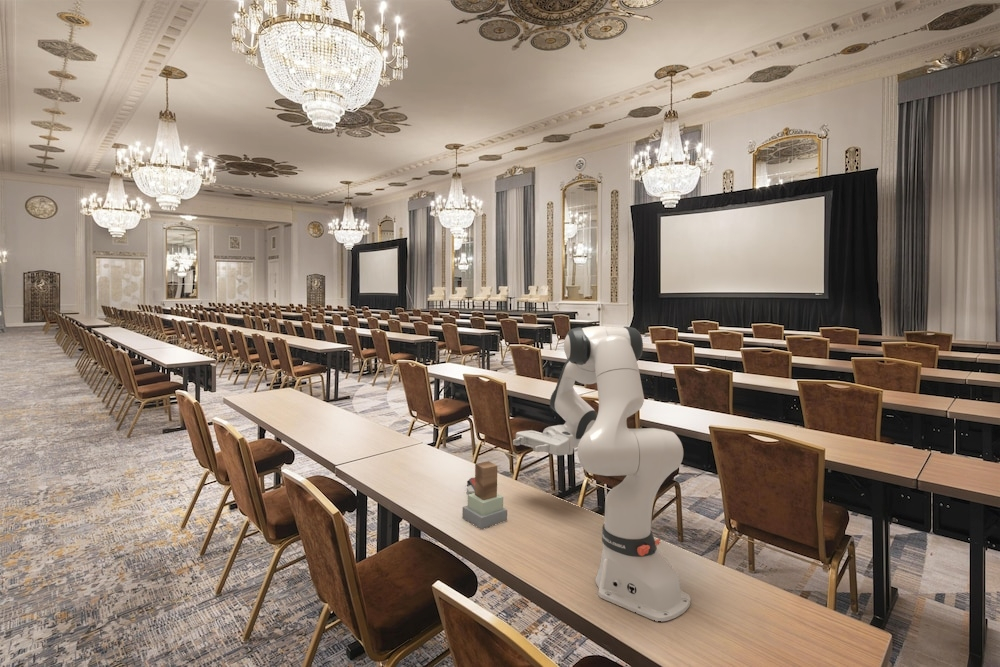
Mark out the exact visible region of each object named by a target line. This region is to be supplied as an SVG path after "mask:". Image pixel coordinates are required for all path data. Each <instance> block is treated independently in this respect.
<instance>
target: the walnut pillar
mask: <svg viewBox="0 0 1000 667" xmlns="http://www.w3.org/2000/svg"><path fill="white" fill-rule="evenodd" d="M474 465H475V466H474V478H475V495H476V496H477V497H479V498H480V499H482V500H487V499H491V498H495V497H497V494H498V465H497V464H495V463H493V462H491V461H489V460H488V461H483V462H479V463H475V464H474Z"/></svg>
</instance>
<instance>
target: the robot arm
mask: <svg viewBox="0 0 1000 667" xmlns="http://www.w3.org/2000/svg"><path fill="white" fill-rule="evenodd" d="M563 341H564V342H563V349H564V354H565V356H566V359H567V360H566V361H565V363H564V365H563V366H562V369H561V371H560V373H559V377H558V380H557V383H556V386H555V389H554V390H553V392H552V393H551V395H550V399H549V406H550V408H551V409H552V410H553V411H554V412H555V413H556V414H558V415H559V416H560V417H561V418H562V419H563V420H564V421H565V422H564V424H557V425H552V426H548V427H546V428H544V429H543V431H542V432H539V431H536V430H533V429H531V430H521V431H517V432H516V433H515V439H513V440H512V445H513V446H520V445H522V446H525V447H529V448H532V452H535V453H539V452H540V453H541V452H542V453H547V454H551V455H554V456H565V455H573V454H574V449H575V448H577V449H576V450H577V459H578V461H579V464H580V465H581V467H582V469H583V470H584V471H585V472H586V473H588V474H593V475H598V476H605V477H612V476H613V477H615V476H625V477H624V479H623V480H622V481H621V482H620V483H619V484H617V485H615V486H614V487H613V488H611V489H610V490H609V491H608V493H607V495H606V497H605V501H604V523H603V524H602V530H601V531H602V533H601V541H602V549H601V550H602V552H601V559H600V563H599V567H598V571H597V574H596V576H595V584H596V586H597V588H598V592H597V593H598V594H597V595H598V597H599V598H600V599H603V600H605V601H607V602H609V603H612V604H614V605H617V606H618V607H619V606H620V607H622V608H624V609H626V610H628V611H631V612H633V613H635V612H636V613H635V614H638V615H640V616H642V617H644V618H646V619H650V620H651V621H654V620H655V622H658V621H661V622H667V621H670V620H674V619H675V618H676V619H677V618H678V617H680V616H681V615H682V614H684V613H685V612H686V611H687V610H688V609H689V607H690V605H691V596H690V595H689V594H688V593H686V592H685V591H684V590H682V589H681V583H680V582H681V580H680V576H679V574H678V572H677V571H676V570H675V569H674V568H673V566H672V565H671V564H670V563H669V562H668V561H667V559H666V558H665V557H664V556H663V555H662V553H661V552H660V551H659V550H658V548H657V546H658V545H660V544H661V538H658V539H655V537H654V533H653V531H652V516H653V515H652V514H653V506H654V502H655V498H656V496H657V494H658V491H659V490H660V488H661V485H662V484H663V483H664V482H665V480H666V479H667V478H668V477H669V476H670V475H671V474H672V473H673V472H675V471H676V470H678V469H679V467H680V466H681V464H682V462H683V458H684V448H683V443H682V441H681V440H680V438H679V437H678V435H677V434H676V433H675V432H674V431H672V430H666V429H662V428H661V429H660V428H656V427H655V428H654V427H647V428H643V427H642V428H640V427H639V428H629V427H628V421H627V419H628V418H629V417H631V416H633V415H634V414H636V413H637V412H638V411H640V410H641V409H642V407H643V405H644V402H645V395H644V390H643V385H642V380H641V375H640V369H639V364H638V361H639V359H640V358H641V357H642V355H643V350H644V344H643V343H644V342H643V337H642V334H641V333H640V331H639V330H637V328H635V327H631V326H623V327H622V326H610V325H609V326H604V325H595V326H587V327H581V326H580V327H575V328H571V329H569V330H568V332H567V333H566V335H565V337H564V340H563ZM575 382H577V383H579V384H583V385H593V384H596V388H597V395H598V397H597V398H598V409H597V410H598V411H596V410H595V409H594V408H593V407H592V406H591V405H590V404H589V403H588V402H587V401H585V400H584V399H583V398H582V397H581V396H580V395H579V394H578V392H576V391H575V390H576V389H575V388H574V386H575Z"/></svg>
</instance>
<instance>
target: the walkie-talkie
mask: <svg viewBox="0 0 1000 667" xmlns="http://www.w3.org/2000/svg"><path fill="white" fill-rule="evenodd" d="M466 483H467V485H468V486H467V487H466V494H467V496H468V495H469V494H472V493H475V477H470V478H469V479H468V480H467V481H466Z"/></svg>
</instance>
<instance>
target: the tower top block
mask: <svg viewBox="0 0 1000 667" xmlns="http://www.w3.org/2000/svg"><path fill="white" fill-rule="evenodd" d="M467 505H468V508H470V509H472V510H473V511H475V512H477V513H479V514H481V515H482V516H484V515H487V514H490V513H493V512H496V511H499V510H502V509H503V508H504V495H501V494H499V493H497V497H495V498H491V499H487V500H482V499H480V498H479V497H477V496H476V495H475V493H472V494H469V495H468V494H467Z"/></svg>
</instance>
